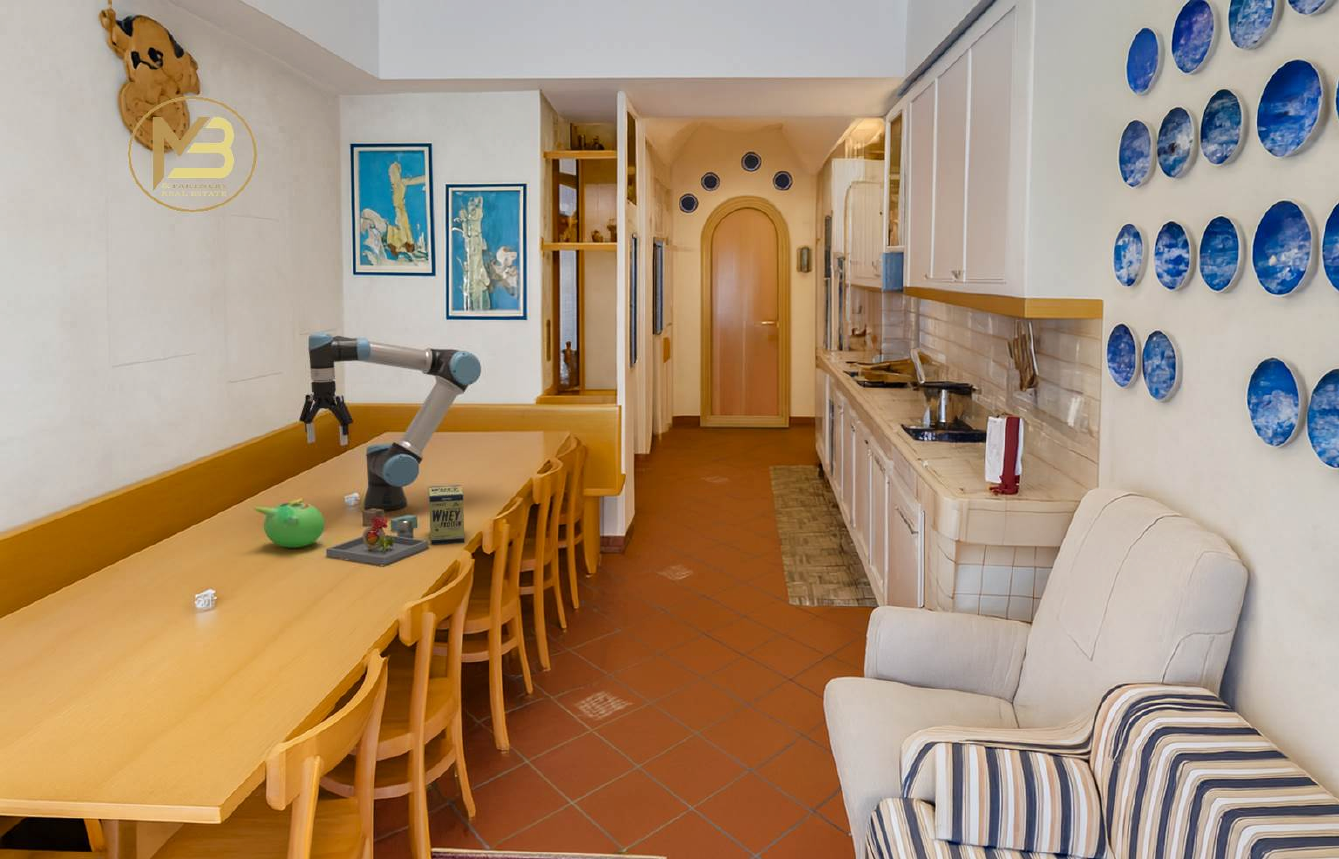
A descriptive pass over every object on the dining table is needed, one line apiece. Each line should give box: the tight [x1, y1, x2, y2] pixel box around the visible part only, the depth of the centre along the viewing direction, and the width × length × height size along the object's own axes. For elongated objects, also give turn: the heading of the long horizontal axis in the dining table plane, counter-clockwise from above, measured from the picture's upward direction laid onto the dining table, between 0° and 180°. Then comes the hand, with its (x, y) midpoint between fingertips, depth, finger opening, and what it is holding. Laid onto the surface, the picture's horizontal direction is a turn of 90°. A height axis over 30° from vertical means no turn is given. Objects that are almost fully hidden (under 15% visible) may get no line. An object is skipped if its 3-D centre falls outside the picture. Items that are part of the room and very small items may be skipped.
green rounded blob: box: [253, 497, 325, 549], centre depth 292 cm, size 18×17×15 cm
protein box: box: [428, 485, 465, 545], centre depth 304 cm, size 10×16×16 cm
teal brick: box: [390, 514, 418, 533], centre depth 314 cm, size 4×8×4 cm, turn 150°
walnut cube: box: [361, 508, 385, 527], centre depth 319 cm, size 5×5×5 cm
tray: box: [325, 533, 430, 567], centre depth 287 cm, size 20×22×2 cm
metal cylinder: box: [396, 519, 415, 539], centre depth 303 cm, size 5×5×6 cm
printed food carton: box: [362, 517, 394, 552], centre depth 287 cm, size 6×11×9 cm
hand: (327, 443), depth 317 cm, fingers open, 13 cm apart
